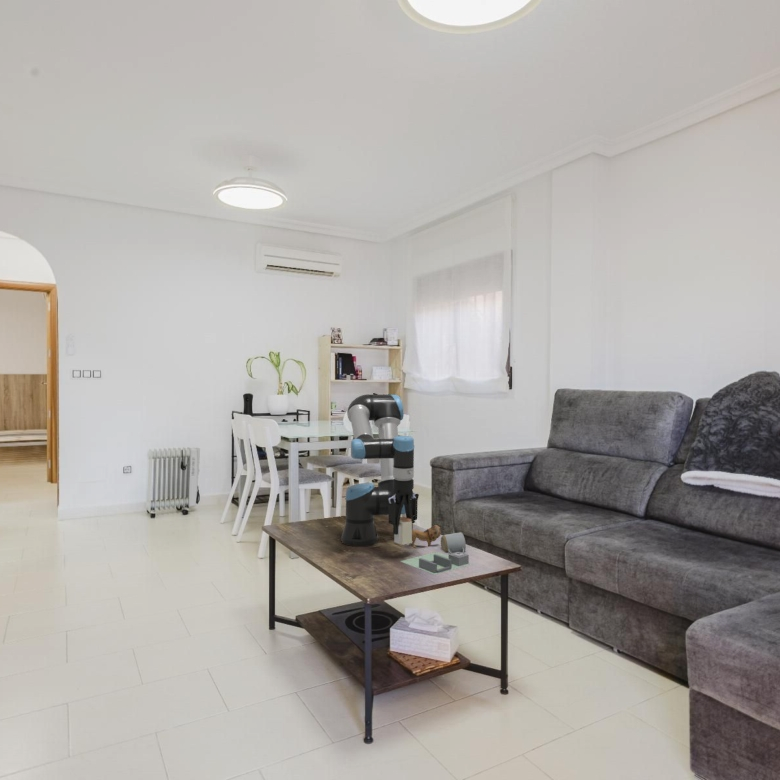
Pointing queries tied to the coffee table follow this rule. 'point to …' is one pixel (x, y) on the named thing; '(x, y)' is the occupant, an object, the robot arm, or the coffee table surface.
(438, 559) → the header
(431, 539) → the lion figurine
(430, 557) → the board
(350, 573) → the coffee table surface
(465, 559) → the fan
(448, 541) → the ceramic mug
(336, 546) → the coffee table surface
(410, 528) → the plug
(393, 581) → the coffee table surface
